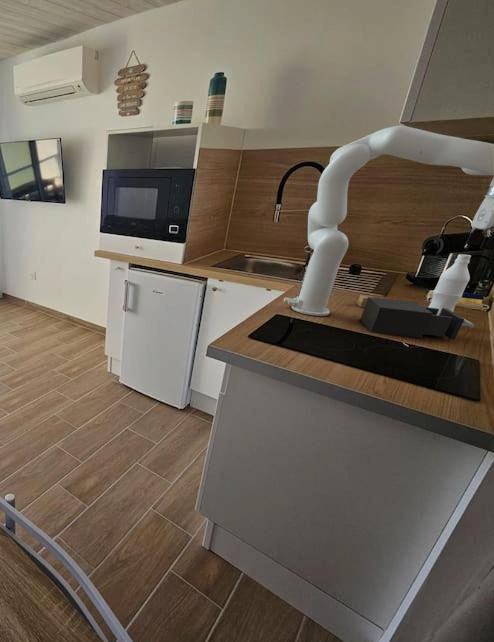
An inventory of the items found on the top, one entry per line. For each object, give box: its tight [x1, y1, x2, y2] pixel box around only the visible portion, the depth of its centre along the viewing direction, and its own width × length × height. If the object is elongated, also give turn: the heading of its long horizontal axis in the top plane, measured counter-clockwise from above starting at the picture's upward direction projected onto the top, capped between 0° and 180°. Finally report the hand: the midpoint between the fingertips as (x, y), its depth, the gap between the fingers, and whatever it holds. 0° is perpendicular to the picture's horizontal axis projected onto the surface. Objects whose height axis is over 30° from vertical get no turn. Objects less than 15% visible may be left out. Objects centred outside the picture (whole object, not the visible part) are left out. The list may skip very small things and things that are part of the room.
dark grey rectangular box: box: [359, 297, 433, 339], centre depth 129 cm, size 14×12×9 cm
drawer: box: [423, 306, 475, 340], centre depth 125 cm, size 17×11×7 cm, turn 66°
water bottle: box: [428, 253, 472, 315], centre depth 132 cm, size 7×7×25 cm
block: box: [356, 294, 375, 308], centre depth 152 cm, size 4×4×4 cm
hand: (479, 246), depth 123 cm, fingers open, 9 cm apart
